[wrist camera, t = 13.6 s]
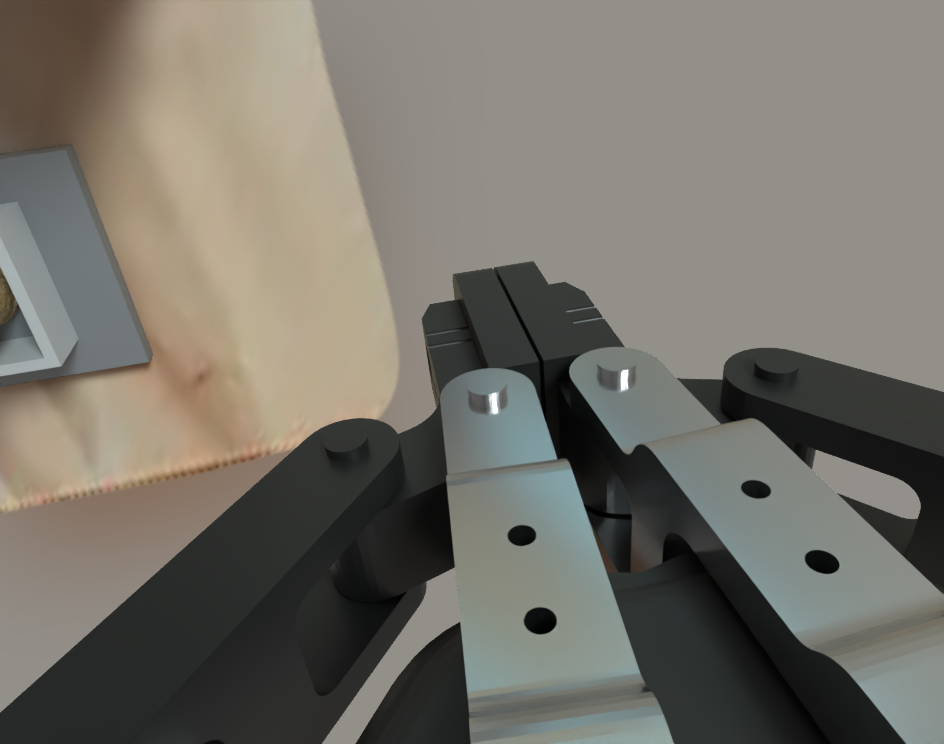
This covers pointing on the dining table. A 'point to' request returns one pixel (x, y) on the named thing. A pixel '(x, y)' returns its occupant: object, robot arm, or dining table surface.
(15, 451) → the dining table surface
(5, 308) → the sprinkles bottle
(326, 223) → the dining table surface
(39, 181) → the bottle stand
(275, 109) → the dining table surface
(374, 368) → the dining table surface
